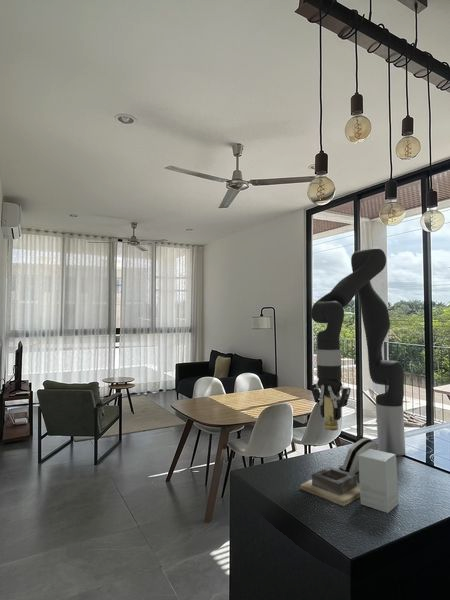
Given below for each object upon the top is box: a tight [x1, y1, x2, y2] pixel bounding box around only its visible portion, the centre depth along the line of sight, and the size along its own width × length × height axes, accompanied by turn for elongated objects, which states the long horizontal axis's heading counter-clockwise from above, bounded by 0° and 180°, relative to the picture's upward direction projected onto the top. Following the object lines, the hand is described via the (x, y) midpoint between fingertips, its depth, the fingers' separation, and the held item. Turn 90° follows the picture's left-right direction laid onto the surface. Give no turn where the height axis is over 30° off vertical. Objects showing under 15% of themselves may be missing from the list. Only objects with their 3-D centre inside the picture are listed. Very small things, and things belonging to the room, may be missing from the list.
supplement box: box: [358, 449, 400, 514], centre depth 97 cm, size 7×7×13 cm
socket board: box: [299, 466, 360, 507], centre depth 105 cm, size 13×14×4 cm
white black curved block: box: [337, 437, 378, 475], centre depth 123 cm, size 17×5×10 cm, turn 135°
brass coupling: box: [323, 396, 339, 431], centre depth 118 cm, size 4×4×10 cm
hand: (330, 418), depth 118 cm, fingers closed on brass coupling, 4 cm apart
